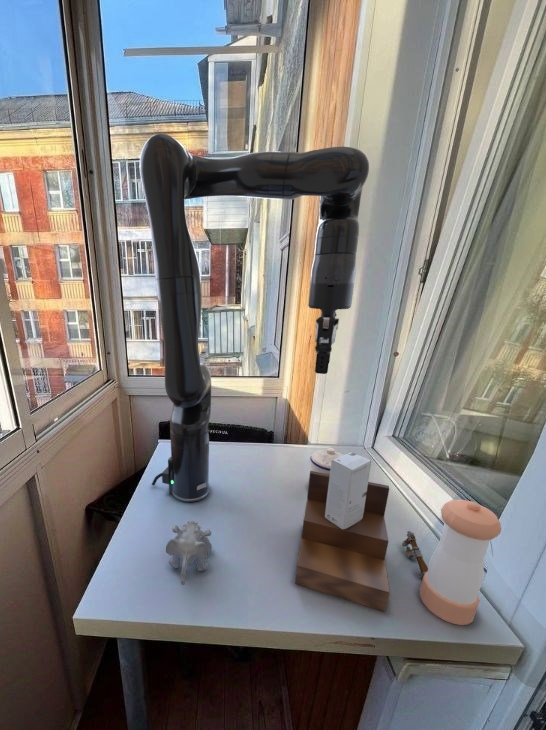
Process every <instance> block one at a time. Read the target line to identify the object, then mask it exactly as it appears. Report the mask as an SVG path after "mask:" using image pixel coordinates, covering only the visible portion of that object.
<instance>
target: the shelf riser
mask: <svg viewBox="0 0 546 730" xmlns="http://www.w3.org/2000/svg"><path fill="white" fill-rule="evenodd" d="M309 475H310V477H308V484H309V486H308V487H307V495H306V496H307V497H306V503H305V509H304V515H303V520H302V530H301V539H300V545H299V550H298V557H297V562H296V570H295V579H294V580H295V581H294V584H296V585H299V586H302V587H306V588H308V589H311V590H315V591H318V592H321V593H324V594H327V595H331V596H334V597H337V598H341V599H343V600H347V601H349V602H353V603H356V604H359V605H363V606H365V607H369V608H372V609H375V610H378V611H382V612H387V607H388V604H389V603H388V602H389V597H390V594H391V593H390V584H389V578H388V572H387V566H386V556H387V551H388V545H389V535H388V531H387V530H388V529H387V525H386V519H385V514H386V508H387V503H388V497H389V493H390V486H389V485H388V484H387V485H386V484H382V483H377V482H372V481H368V486H367V493H366V500H365V507H364V513H363V518H362V519H361V520H360V521H358V522H357V523H355V524H354V525H352V526H350V527H348V528H346V529H341V528H339V527H338V526H336V525H335V524H333V523H332V522H330V521H329V520H328V519H326V518H325V510H326V502H327V494H328V486H329V477H330V474H325V473H320V472H315V471H310V470H309Z"/></svg>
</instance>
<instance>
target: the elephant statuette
mask: <svg viewBox="0 0 546 730" xmlns="http://www.w3.org/2000/svg"><path fill="white" fill-rule="evenodd" d="M171 530H172V532H173V533H174V534H176V533H177V535H176V536H175V537H174V538H172V539H170V540H169V541H168V542H167V544H166V545H165V553H166V554H167V555H169V556H172V557H170V559H169V560H168V564H169V565H170V566H171V567H172V568H174V569H179V568H180V564H181V571H180V572H181V573H180V581H179V582H180V585H181V586H184V585H185V584H186V581H187V567H188V566H191V565H192V564H194V562H195V564H196V570H197V571H198V572H203V571H206V570H208V569H209V563H208V562H207V559H208V558H209V553H210V552H211V551H212V549H213V545H212V543H211V541H210V539H209V537H211V535H212V531H211V529H210V528H206V530H205V531H203V530H202V527H201V526H200V524H199V522H196V521H195V520H193V521H187V522H186V524H183V528H182V529H180V528H179V526H178V524H175V525H173V527H172V529H171Z"/></svg>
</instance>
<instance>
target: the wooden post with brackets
mask: <svg viewBox="0 0 546 730" xmlns="http://www.w3.org/2000/svg"><path fill="white" fill-rule="evenodd" d="M406 532H407V534H406V537H407V538H406V539H405V540H403V541H402V543H401V545H402V547H405V549H406V550H405V553H406V555H407V558H409V559H410V560H412V561H413V560H415V559H416V561H417V563H418V567H419V571H420V574H419V578H420V579H423V576H424V574H425V572H427V571H428V567H429V566H428V565H427V564H426V562H425V560H424V559H423V557H424V556H423V554H422V552H421V548H420V546H418V543H417V539H416V536H415V533H414V532H412V531H411V530H407V531H406ZM409 545H410V546H411V547H410V546H409Z"/></svg>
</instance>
